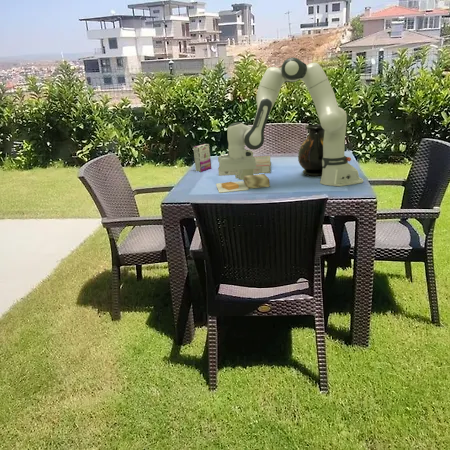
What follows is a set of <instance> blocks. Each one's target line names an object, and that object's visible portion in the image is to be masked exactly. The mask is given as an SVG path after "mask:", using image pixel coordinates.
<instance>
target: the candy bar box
mask: <svg viewBox="0 0 450 450" xmlns="http://www.w3.org/2000/svg"><path fill="white" fill-rule="evenodd" d="M193 158H194V167H195V172H196V171H199V172H198V173H202V172H205V171H208V170H211V169H212V160H211V151H210V144H209V143H203V144H200V145H196V146H193Z"/></svg>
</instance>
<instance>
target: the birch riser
mask: <svg viewBox="0 0 450 450" xmlns="http://www.w3.org/2000/svg"><path fill="white" fill-rule="evenodd" d="M243 181H244V183H245V184H246V186H247V187H248V189H249V190H251V189H257V188H260V189H261V188H269V187H271V186H270V178H269V177H268V176H267V175H266V173H264V174H254V175H249V176H244V180H243Z"/></svg>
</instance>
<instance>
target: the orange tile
mask: <svg viewBox="0 0 450 450" xmlns="http://www.w3.org/2000/svg"><path fill="white" fill-rule="evenodd" d="M233 182H234V181H227V182H220V183H221V184H222V187H223V188H225V189H228V190H232V189H237V188H239V185H238V184H236V183H233Z"/></svg>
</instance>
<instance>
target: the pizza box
mask: <svg viewBox="0 0 450 450" xmlns="http://www.w3.org/2000/svg"><path fill="white" fill-rule="evenodd" d="M253 157H254V158H255V161H256V168H255V169H253V173H254V175H259V173H264V174H271V166H272V165H271V155H256V156H255V155H254V156H253ZM217 170H218V176H219V177H223V176H224V177H225V176H235V174H234V173H233V171H226V172H221V171H220V170H219V167H218V168H217ZM236 175H239V172H238V170H237V171H236Z"/></svg>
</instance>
